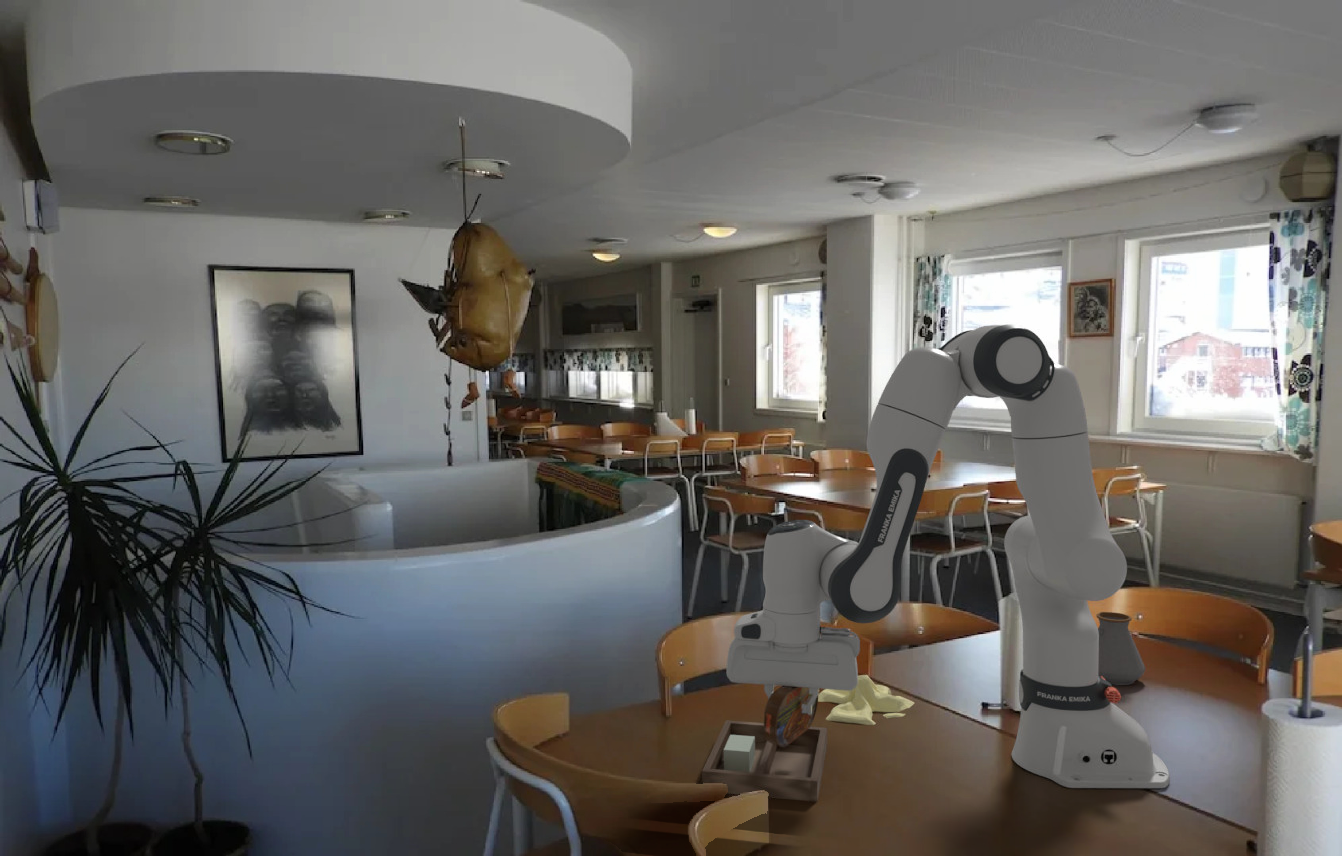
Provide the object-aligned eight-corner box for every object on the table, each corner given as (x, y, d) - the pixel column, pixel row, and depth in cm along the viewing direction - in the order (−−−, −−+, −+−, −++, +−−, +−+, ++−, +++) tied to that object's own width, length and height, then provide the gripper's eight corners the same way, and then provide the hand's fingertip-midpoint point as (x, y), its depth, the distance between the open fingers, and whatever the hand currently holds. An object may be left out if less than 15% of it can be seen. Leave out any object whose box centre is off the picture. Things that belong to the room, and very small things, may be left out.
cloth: (838, 733, 160) (837, 699, 159) (796, 697, 178) (796, 666, 177) (950, 718, 165) (950, 685, 165) (899, 684, 183) (899, 654, 183)
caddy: (827, 751, 151) (826, 727, 150) (817, 808, 131) (817, 781, 131) (726, 743, 155) (726, 720, 155) (702, 797, 135) (702, 771, 135)
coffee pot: (1115, 667, 190) (1116, 596, 189) (1158, 685, 179) (1159, 610, 178) (1028, 677, 184) (1028, 605, 183) (1066, 697, 173) (1067, 620, 172)
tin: (775, 755, 135) (781, 701, 134) (756, 748, 136) (762, 694, 136) (817, 723, 147) (823, 673, 146) (799, 717, 149) (805, 668, 148)
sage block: (755, 757, 146) (754, 736, 146) (749, 773, 141) (749, 751, 140) (730, 755, 147) (730, 734, 147) (724, 771, 142) (723, 749, 141)
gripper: (860, 623, 141) (860, 710, 142) (731, 616, 146) (731, 700, 147) (859, 635, 135) (859, 725, 136) (724, 627, 140) (724, 714, 141)
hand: (791, 712), depth 141 cm, fingers closed on tin, 3 cm apart
